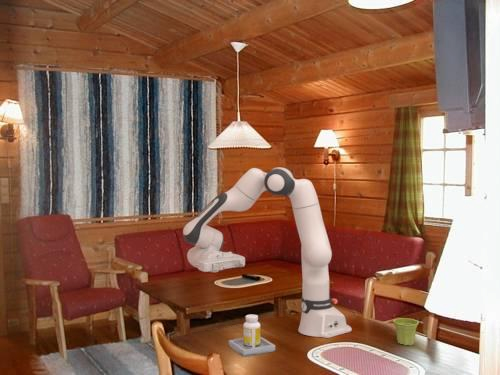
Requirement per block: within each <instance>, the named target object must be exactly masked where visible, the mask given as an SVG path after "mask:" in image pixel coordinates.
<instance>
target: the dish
mask: <svg viewBox="0 0 500 375" xmlns="http://www.w3.org/2000/svg"><path fill="white" fill-rule="evenodd" d="M228 347H230V348H231V349H232V350H233V351H235V352H236V353H238V354H239V355H241V356H242V357H244V358H246V357H252V356H256V355H257V356H258V355H262V354H268V353H272V352H276V345H275V344H274V343H272V342H270V341H269V340H268V339H266V338H263V337H262V336H261V345H260V347H258V348H252V349H249V348H245V347H244V345H243V337H241V338H235V339H229V340H228Z"/></svg>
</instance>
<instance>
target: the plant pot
mask: <svg viewBox="0 0 500 375" xmlns="http://www.w3.org/2000/svg"><path fill="white" fill-rule="evenodd" d="M393 323H394V326H395V331H396V340H397V344H399V343H400V344H404V345H403V346H413V345H414V344H415V340H416V333H417V328H418V325H419V321H418V320H416V319H414V318H413V319H412V318H406V317H402V318H401V317H398V318H395V319H393ZM400 344H399V345H400Z"/></svg>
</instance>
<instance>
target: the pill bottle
mask: <svg viewBox="0 0 500 375" xmlns="http://www.w3.org/2000/svg"><path fill="white" fill-rule="evenodd" d="M258 320H259V315H257V314H251V313H250V314H247V315H245V322H243V325H242V326H243V329H242V330H243V331H242V332H243V334H242V335H243V336H242V338H243V345H244V347H245V348H249V349H252V348H258V347H260V345H261V337H262V336H261V322H259V321H258Z"/></svg>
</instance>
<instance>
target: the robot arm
mask: <svg viewBox="0 0 500 375" xmlns="http://www.w3.org/2000/svg"><path fill="white" fill-rule="evenodd" d="M266 191H267V192H268V193H269V194H271V195H273V196H282V197H283V196H284V197H288V198H289V200H290V203H291V207H292V212H293V217H294V221H295V225H296V229H297V233H298V235H299V240H300V244H301V247H300V248H301V250H300V252H301V272H302V273H301V276H302V287H301V288H302V291H301V293H302V295H301V302H300V306H301V308H300V309H301V316H300V322H299V326H298V329H297V330H298V332H299V333H300V334H301V335H306V336H310V337H319V338H320V337H321V338H326V339H328V338H333V337H337V336H339V335H343V334H347V333H350V332H352V331H353V330H352V327H351V326H350V325H349V324H347V320H346V317H345V315H344V314H343V313H342V312H341V311H339V309H337V308H336V307H335V306H334V305H336V304H338V302H339V301H338V299H337V298H332V297H330V275H329V274H330V273H329V264H330V262H331V260H332V256H333V252H332V248H331V244H330V239H329V237H328V233H327V229H326V226H325V223H324V219H323V215H322V210H321V206H320V202H319V199H318V198H319V197H318V194H317V192H316V189H315V187H314V184H313V183H312V181H311V180H309V179H307V178H300V179H296V178H295V176H294V174H293V171H291V169H289V168H287V167H283V166H281V167H278V166H277V167H273V168H272V169H270V170H269V171H267V172H265V171H263V170H262V169H261V168H257V167H252V168H250V169H249V170H246V172H245V173H244V174H243V175H242V176H241V177H240V178H239V179H238V180H237V182H236V183H235V184H234V185H233V186H232V187H231V188H230V189H229V190H227V191H225V192H221V193H220V194H218V195H216V196H215V197H214V198H213V199H212V200H211V201H210V202H209V203H208V204H207V205H206V206H205V207H203V209H202V210H201V211H200V212H199V213H198V214H196V216H195V217H193V218H192V219H190V220H189V221H188V222H187V223H186V224H185V225H184V226H183V229H182V237H183V239H184V241H185V243H187V244H190V245H194V247H193V246H192V248H190V249H189V250H188V251H187V253H186V257H187V262H189V264H190V265H191V266H192V267H194V268H197V270H199V271H201V272H202V273H203V272H204V273H206V272H207V273H208V272H210V273H215V274H216V273H218V272H220V271H225V270H226V269H227V270H228V269H232V268H243V267H245V265H246V258H245V256H243V255H240V254H238V253H237V254H236V253H233V252H232V251H222V249H223V247H224V244H225V241H224V234H223V233H222V232H221V231H220V230H218V229H216V228H214V227H211V226H209V225H207V224H209V223H210V222H211V220H212V219H213V218H214V217H216V215H217V214H219V213H222V212H240V213H241V212H244V211H248V210H249V209H250V208H252V207H253V206H254V204H255V203H256V202H257V200H258V199H259V198H260V196H261V195H262V194H263V193H264V192H266ZM333 304H334V305H333Z"/></svg>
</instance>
